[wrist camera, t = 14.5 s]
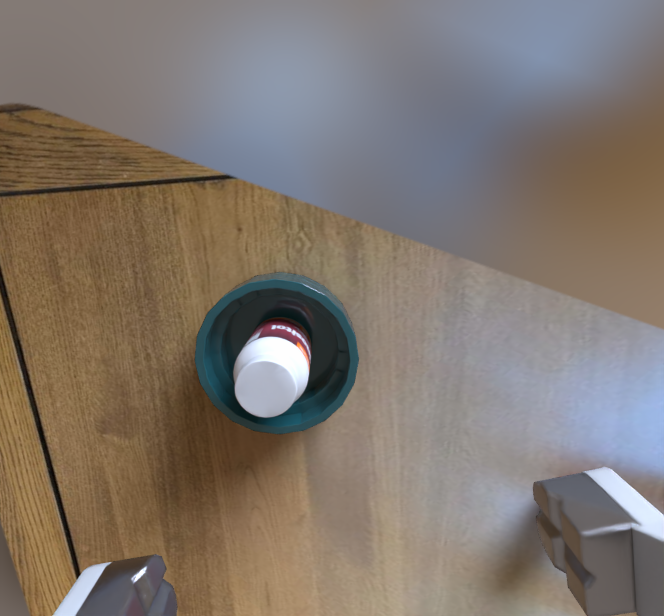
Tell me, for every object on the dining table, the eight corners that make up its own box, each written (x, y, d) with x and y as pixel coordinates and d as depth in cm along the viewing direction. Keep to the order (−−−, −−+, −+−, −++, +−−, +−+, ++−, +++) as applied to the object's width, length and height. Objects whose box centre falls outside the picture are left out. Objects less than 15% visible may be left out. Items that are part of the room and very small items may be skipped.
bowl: (182, 312, 42) (164, 325, 37) (313, 245, 40) (311, 250, 36) (254, 431, 45) (245, 458, 40) (377, 372, 43) (384, 392, 39)
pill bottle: (324, 342, 42) (325, 386, 31) (285, 385, 43) (272, 443, 32) (276, 302, 41) (259, 333, 30) (237, 347, 42) (207, 394, 31)
